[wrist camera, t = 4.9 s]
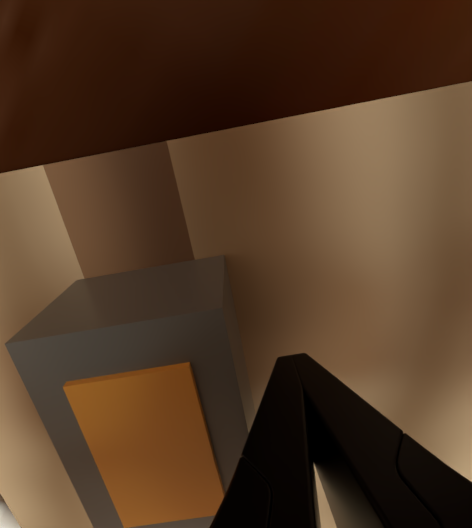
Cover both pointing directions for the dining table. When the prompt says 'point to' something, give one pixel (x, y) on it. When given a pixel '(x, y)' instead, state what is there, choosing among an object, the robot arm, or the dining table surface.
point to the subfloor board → (268, 263)
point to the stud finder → (142, 391)
